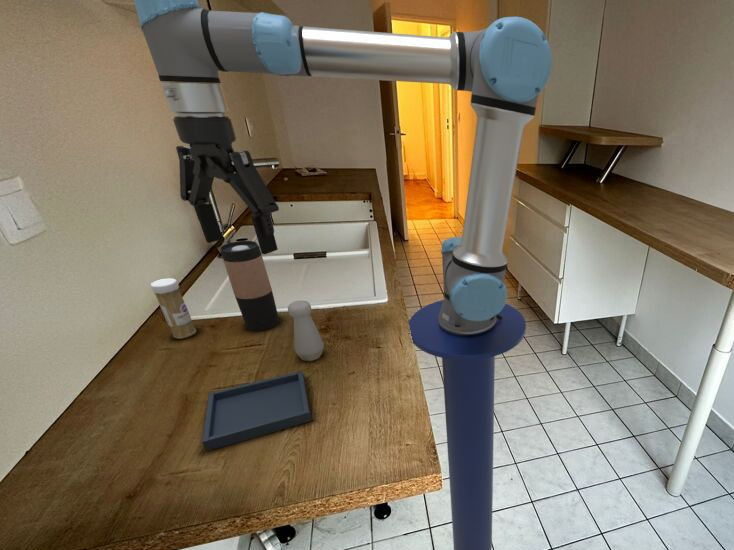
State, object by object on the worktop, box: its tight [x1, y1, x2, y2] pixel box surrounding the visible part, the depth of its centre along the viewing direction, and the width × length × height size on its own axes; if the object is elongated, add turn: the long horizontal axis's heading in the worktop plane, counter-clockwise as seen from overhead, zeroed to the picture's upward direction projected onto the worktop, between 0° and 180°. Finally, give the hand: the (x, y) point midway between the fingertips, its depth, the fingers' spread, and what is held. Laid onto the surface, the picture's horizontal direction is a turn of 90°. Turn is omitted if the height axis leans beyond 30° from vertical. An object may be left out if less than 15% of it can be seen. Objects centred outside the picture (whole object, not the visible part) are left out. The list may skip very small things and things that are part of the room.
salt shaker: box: [287, 299, 325, 362], centre depth 87 cm, size 6×6×13 cm
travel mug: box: [219, 240, 280, 332], centre depth 97 cm, size 8×8×20 cm
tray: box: [202, 370, 312, 452], centre depth 74 cm, size 16×14×2 cm
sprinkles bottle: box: [150, 277, 197, 340], centre depth 93 cm, size 5×5×13 cm
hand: (241, 246), depth 75 cm, fingers open, 13 cm apart
